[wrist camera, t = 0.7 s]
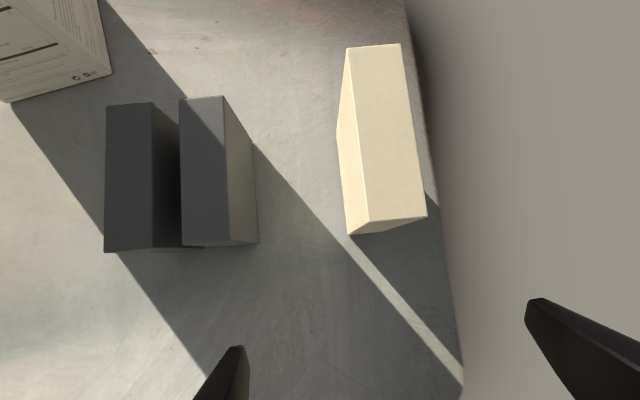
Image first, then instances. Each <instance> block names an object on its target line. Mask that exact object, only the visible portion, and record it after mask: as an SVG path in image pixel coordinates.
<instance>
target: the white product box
mask: <svg viewBox="0 0 640 400" xmlns="http://www.w3.org/2000/svg"><path fill="white" fill-rule="evenodd" d="M111 73H112V71H111V66H110V61H109V56H108V52H107V47H106V42H105V37H104V33H103V28H102V23H101V18H100V14H99V9H98V4H97V0H0V101H2V102H4V103H11V102H14V101H18V100H22V99H25V98H29V97H32V96H36V95H39V94H43V93H47V92H50V91H54V90H58V89H61V88H65V87H68V86H72V85H75V84H79V83H82V82H86V81H89V80H93V79H96V78H100V77H103V76H107V75H110V74H111Z"/></svg>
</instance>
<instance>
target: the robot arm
mask: <svg viewBox="0 0 640 400" xmlns="http://www.w3.org/2000/svg"><path fill="white" fill-rule="evenodd" d="M524 321H525V324H526V327H527V328H528V330H529V332H530V333H531V335H532V336H533V338H534V340H535V341H536V343H537V345H538V346H539V348H540V349H541V351H542V353H543V354H544V356H545V357H546V359H547V360H548V362H549V364H550V365H551V367H552V368H553V370H554V371H555V373H556V374H557V376H558V377H559V378H560V380H561V381H562V383H563V384H564V385H565V386H566V388H567V389H568V391H569V392H570V393H571V395H572V396H573V397H574V399H575V400H640V342H638V341H636V340H634V339H632V338H630V337H628V336H625V335H623V334H621V333H619V332H617V331H614V330H612V329H610V328H608V327H606V326H604V325H601V324H599V323H597V322H595V321H593V320H590V319H588V318H586V317H584V316H582V315H580V314H577V313H575V312H573V311H571V310H568V309H567V308H564V307H562V306H560V305H558V304H556V303H553V302H551V301H549V300H547V299H544V298H537V299H531V300H529V301H528V303H527V308H526V312H525V318H524ZM249 380H250V365H249V361H248V357H247V354H246V351H245V348H244V346H243V345H238V346H232V347H230V348H229V349H228V350H227V351H226V353H225V354H224V355H223V357H222V358H221V360H220V361H219V363H218V364H217V365H216V367H215V368H214V370H213V371H212V373H211V374H210V375H209V377H208V378H207V380H206V381H205V382H204V384H203V385H202V387H201V388H200V390H199V391H198V392H197V394H196V395H195V397H194V398H193V400H249Z"/></svg>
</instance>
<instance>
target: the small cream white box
mask: <svg viewBox="0 0 640 400" xmlns="http://www.w3.org/2000/svg"><path fill="white" fill-rule="evenodd" d="M336 137H337V146H338V154H339V163H340V172H341V181H342V190H343V198H344V207H345V216H346V225H347V233H348V235H355V234H365V233H374V232H382V231H385V230H388V229H391V228H394V227H398V226H401V225H404V224H407V223H410V222H413V221H417V220H420V219H423V218H426V217H428V212H427V206H426V199H425V193H424V187H423V181H422V174H421V168H420V162H419V156H418V149H417V143H416V137H415V130H414V124H413V118H412V112H411V105H410V99H409V93H408V87H407V80H406V74H405V68H404V62H403V55H402V49H401V44H389V45H378V46H367V47H357V48H347V50H346V57H345V65H344V74H343V82H342V90H341V98H340V106H339V114H338V122H337V130H336Z"/></svg>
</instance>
